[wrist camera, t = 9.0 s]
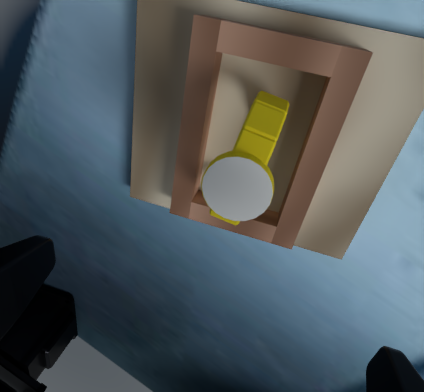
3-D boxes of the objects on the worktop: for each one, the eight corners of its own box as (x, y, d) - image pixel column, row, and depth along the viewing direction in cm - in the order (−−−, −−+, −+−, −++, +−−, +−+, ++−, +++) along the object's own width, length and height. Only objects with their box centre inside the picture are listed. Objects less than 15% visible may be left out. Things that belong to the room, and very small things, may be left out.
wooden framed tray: (136, 189, 21) (118, 208, 19) (147, -18, 15) (121, -24, 13) (339, 249, 20) (344, 276, 18) (448, 43, 13) (475, 48, 11)
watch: (251, 78, 15) (230, 94, 10) (303, 98, 15) (309, 126, 10) (212, 180, 18) (181, 233, 13) (256, 198, 18) (242, 259, 13)
